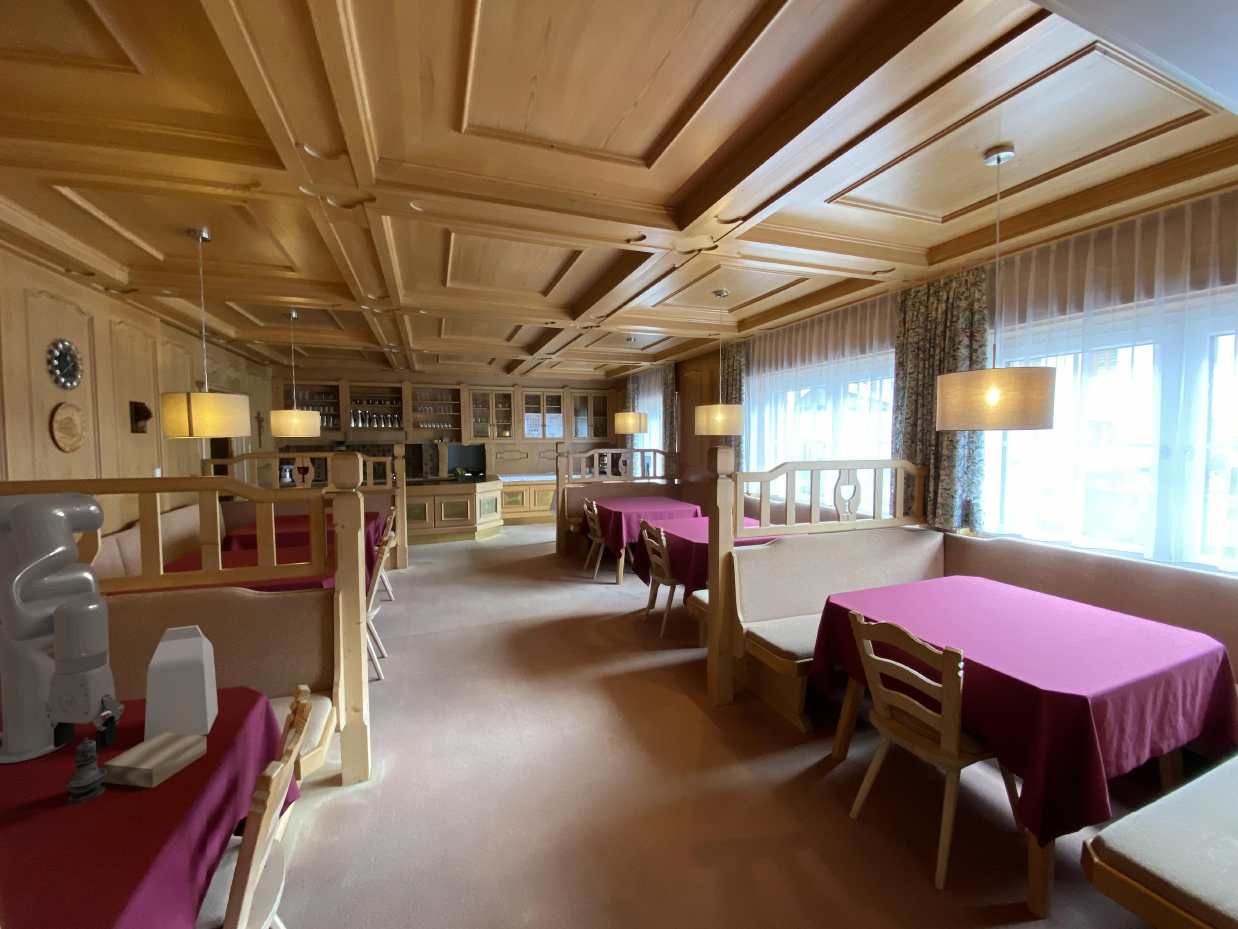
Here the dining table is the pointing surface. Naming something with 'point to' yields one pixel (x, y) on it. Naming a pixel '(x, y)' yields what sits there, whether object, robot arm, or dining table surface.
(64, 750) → the dining table surface
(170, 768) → the beech block
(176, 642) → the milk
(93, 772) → the black chess piece
